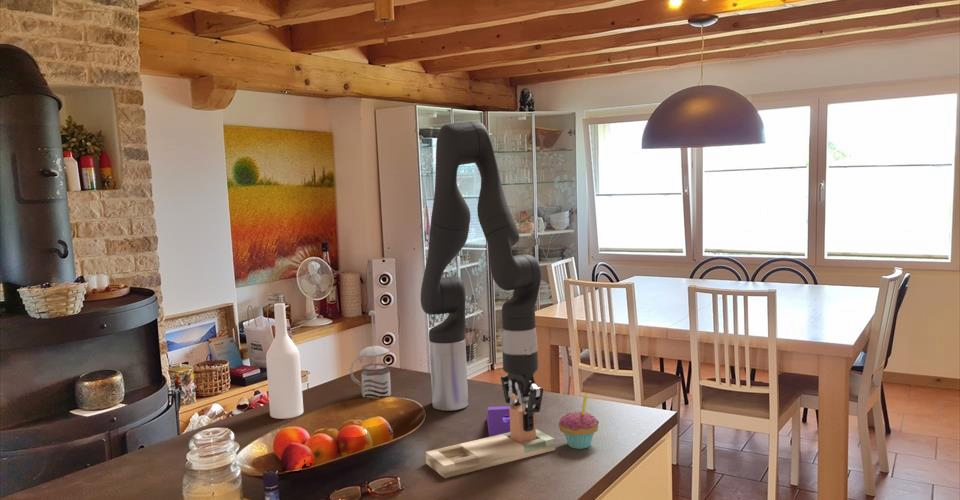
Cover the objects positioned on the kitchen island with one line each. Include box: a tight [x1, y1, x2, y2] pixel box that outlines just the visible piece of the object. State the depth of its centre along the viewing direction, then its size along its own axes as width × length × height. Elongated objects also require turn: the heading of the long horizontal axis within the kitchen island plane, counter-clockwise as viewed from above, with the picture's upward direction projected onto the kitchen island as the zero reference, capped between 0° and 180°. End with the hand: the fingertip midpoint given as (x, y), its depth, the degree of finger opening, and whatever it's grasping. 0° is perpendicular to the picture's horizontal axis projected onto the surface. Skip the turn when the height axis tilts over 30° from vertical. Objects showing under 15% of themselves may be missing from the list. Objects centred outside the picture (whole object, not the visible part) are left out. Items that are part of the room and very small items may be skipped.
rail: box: [425, 428, 556, 479], centre depth 145 cm, size 9×26×2 cm, turn 118°
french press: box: [349, 310, 392, 398], centre depth 188 cm, size 10×12×25 cm
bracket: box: [486, 405, 510, 437], centre depth 162 cm, size 12×7×7 cm, turn 2°
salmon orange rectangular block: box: [509, 404, 537, 444], centre depth 149 cm, size 4×4×7 cm
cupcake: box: [558, 391, 600, 450], centre depth 149 cm, size 9×8×12 cm
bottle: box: [265, 302, 304, 420], centre depth 174 cm, size 8×8×30 cm
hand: (523, 427), depth 149 cm, fingers closed on salmon orange rectangular block, 4 cm apart
